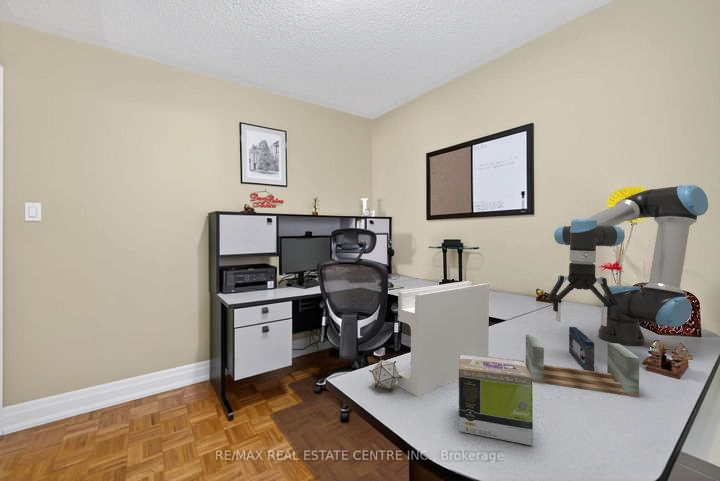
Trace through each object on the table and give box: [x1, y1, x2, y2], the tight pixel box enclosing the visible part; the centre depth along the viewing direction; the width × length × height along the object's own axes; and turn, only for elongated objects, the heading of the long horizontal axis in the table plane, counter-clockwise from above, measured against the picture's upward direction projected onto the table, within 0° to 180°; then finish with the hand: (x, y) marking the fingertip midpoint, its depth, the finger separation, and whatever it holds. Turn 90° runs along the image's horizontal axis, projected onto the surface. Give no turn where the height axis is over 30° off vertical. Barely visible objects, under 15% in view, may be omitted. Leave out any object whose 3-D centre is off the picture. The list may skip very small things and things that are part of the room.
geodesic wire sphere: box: [368, 357, 402, 393], centre depth 89 cm, size 9×8×10 cm
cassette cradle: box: [525, 333, 641, 398], centre depth 95 cm, size 26×12×11 cm, turn 70°
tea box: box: [458, 354, 534, 446], centre depth 71 cm, size 15×10×15 cm, turn 71°
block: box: [397, 280, 490, 398], centre depth 98 cm, size 35×8×28 cm, turn 127°
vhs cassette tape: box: [568, 326, 595, 371], centre depth 109 cm, size 18×3×10 cm, turn 159°
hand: (580, 323), depth 109 cm, fingers open, 13 cm apart
